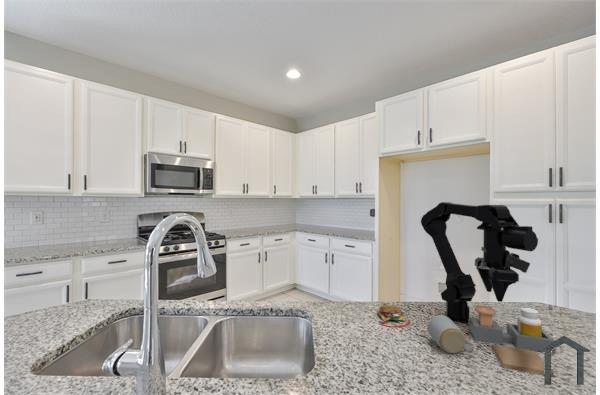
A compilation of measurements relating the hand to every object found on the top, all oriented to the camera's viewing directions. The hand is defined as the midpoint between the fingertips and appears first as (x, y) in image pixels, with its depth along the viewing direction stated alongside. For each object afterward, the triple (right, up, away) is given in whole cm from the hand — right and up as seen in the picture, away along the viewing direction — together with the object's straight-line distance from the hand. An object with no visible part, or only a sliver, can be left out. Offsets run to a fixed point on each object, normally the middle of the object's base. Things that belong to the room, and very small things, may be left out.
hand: (494, 296), depth 85 cm
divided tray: (+2, -12, -3) cm, 13 cm away
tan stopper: (-3, -9, -1) cm, 10 cm away
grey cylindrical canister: (-17, -12, -7) cm, 22 cm away
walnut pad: (-3, -12, -14) cm, 18 cm away
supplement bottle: (+7, -12, -5) cm, 15 cm away
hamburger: (-28, -13, +12) cm, 33 cm away
